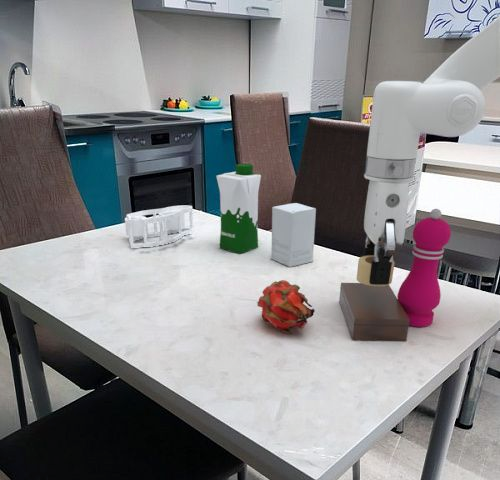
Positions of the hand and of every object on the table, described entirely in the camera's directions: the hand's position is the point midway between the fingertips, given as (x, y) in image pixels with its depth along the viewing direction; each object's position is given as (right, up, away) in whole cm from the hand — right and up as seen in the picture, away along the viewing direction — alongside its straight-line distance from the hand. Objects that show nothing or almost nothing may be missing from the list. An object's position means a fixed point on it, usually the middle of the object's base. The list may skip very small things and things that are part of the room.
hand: (374, 275), depth 87 cm
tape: (0, -1, 0) cm, 1 cm away
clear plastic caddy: (-45, +15, +47) cm, 67 cm away
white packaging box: (-12, +7, +33) cm, 35 cm away
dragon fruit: (-15, -9, +2) cm, 18 cm away
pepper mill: (+8, -8, +4) cm, 12 cm away
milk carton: (-25, +12, +41) cm, 49 cm away
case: (0, -8, +4) cm, 8 cm away
